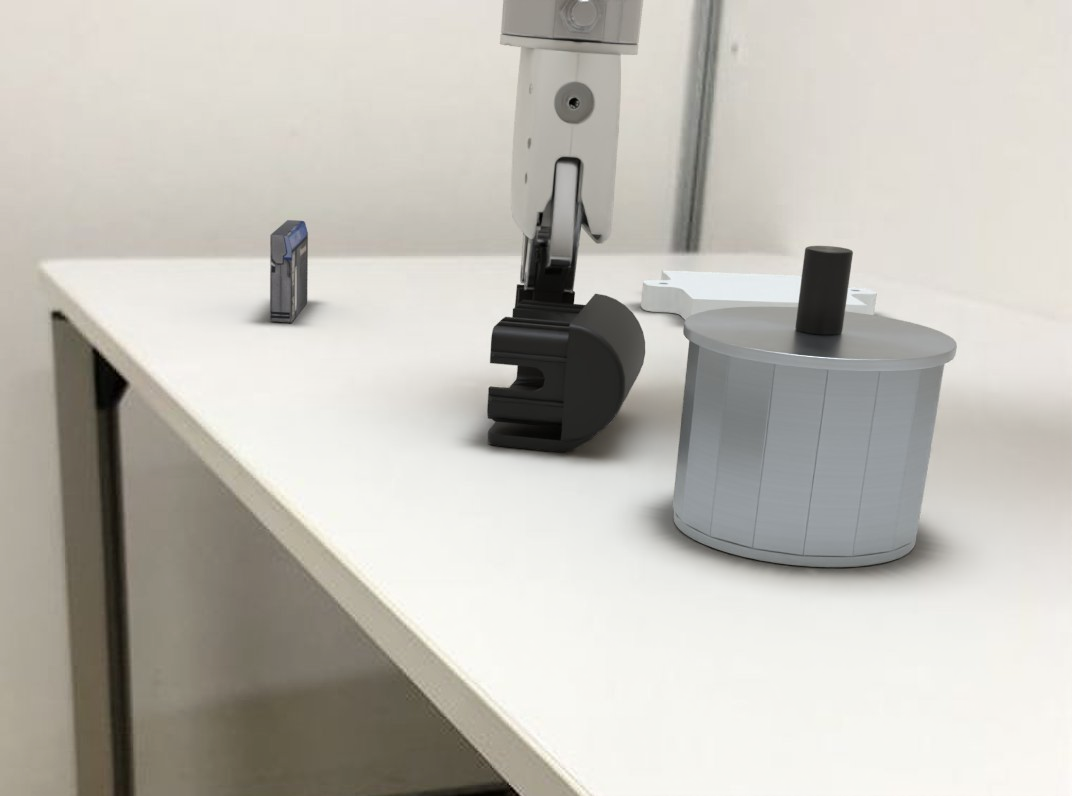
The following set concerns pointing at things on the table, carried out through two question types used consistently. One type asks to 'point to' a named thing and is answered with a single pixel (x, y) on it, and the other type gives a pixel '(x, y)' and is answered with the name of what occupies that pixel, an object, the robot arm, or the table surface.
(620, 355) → the end cap
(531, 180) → the robot arm
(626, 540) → the table surface
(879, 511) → the pot
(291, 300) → the mini dv tape
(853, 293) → the mounting plate
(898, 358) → the pot lid
